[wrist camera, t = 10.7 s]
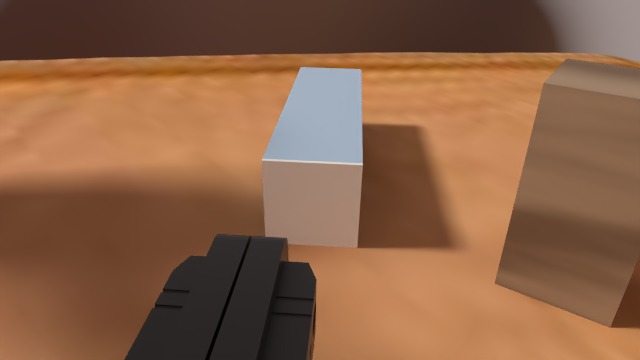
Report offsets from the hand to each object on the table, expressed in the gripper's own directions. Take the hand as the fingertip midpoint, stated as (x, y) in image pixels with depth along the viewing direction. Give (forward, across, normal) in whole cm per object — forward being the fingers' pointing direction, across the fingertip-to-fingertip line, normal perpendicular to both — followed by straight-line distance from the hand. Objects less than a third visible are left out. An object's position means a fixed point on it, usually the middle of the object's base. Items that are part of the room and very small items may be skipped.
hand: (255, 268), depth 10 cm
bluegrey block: (+13, 0, +6) cm, 14 cm away
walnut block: (+11, -13, +8) cm, 19 cm away
